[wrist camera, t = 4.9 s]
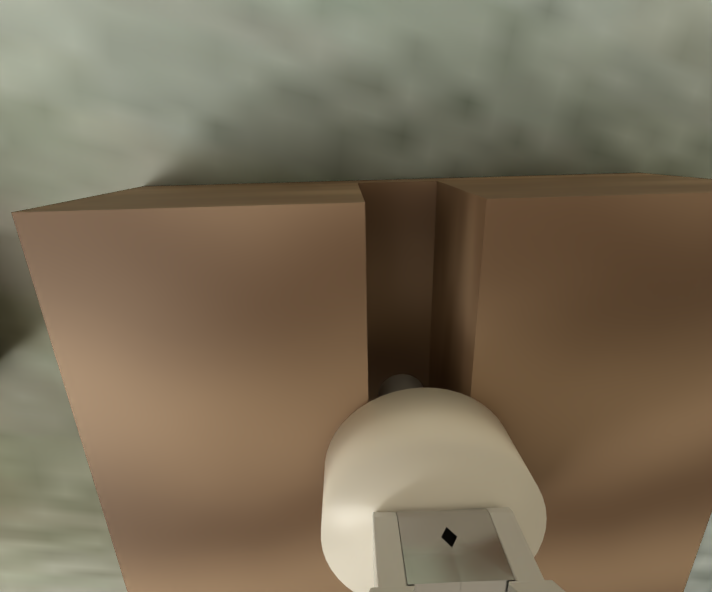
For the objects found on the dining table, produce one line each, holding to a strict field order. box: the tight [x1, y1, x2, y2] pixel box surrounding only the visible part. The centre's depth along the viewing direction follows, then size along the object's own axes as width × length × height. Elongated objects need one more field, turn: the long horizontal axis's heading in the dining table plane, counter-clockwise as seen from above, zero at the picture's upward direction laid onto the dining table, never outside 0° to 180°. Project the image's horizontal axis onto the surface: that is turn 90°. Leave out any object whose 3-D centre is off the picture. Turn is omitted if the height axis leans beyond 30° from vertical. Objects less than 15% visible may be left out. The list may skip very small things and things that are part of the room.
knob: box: [321, 374, 547, 592], centre depth 12 cm, size 5×5×6 cm
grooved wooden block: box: [11, 173, 712, 592], centre depth 17 cm, size 30×17×6 cm, turn 1°
